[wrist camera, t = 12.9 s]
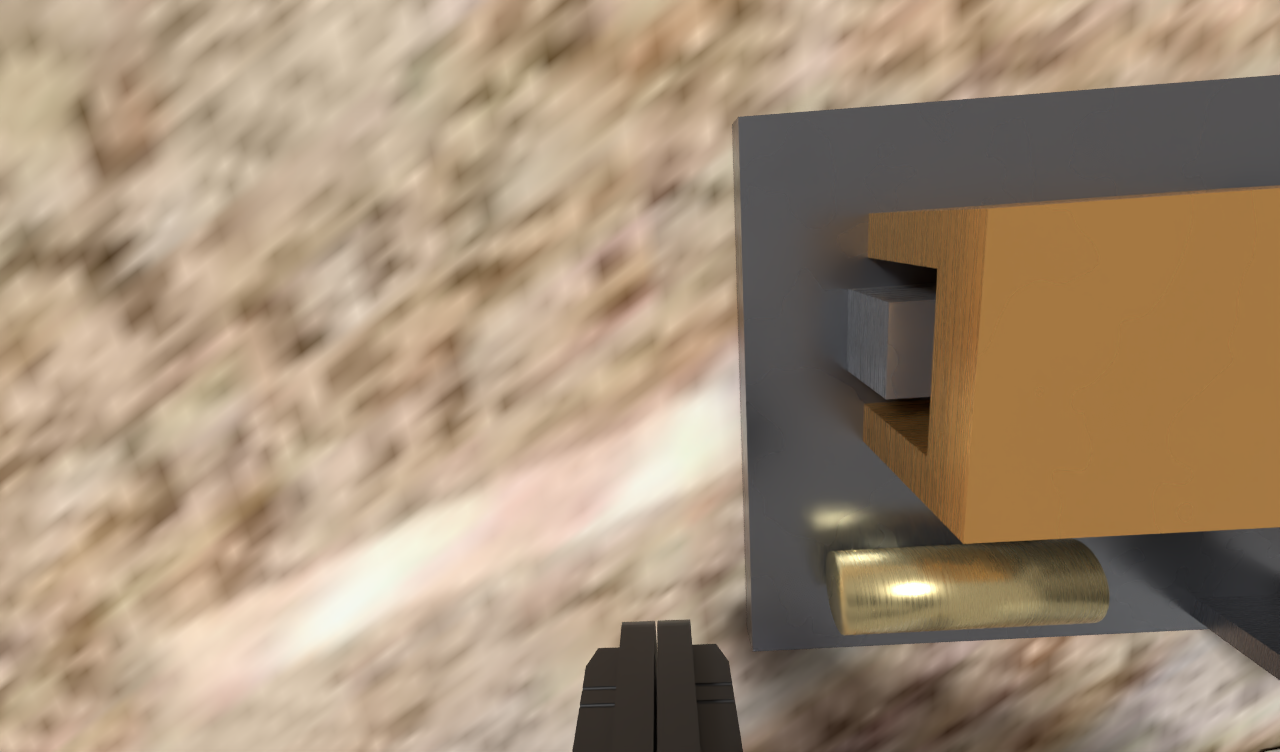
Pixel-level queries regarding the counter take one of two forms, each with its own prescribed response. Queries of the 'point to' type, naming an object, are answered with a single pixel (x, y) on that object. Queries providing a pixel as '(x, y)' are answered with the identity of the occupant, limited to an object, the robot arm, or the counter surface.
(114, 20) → the counter surface
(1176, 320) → the block
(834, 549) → the stand
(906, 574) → the pin
